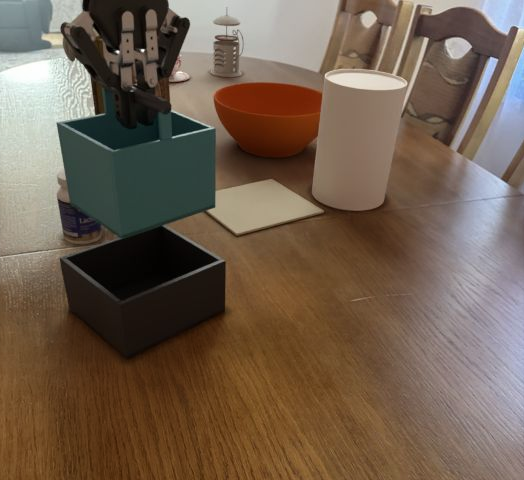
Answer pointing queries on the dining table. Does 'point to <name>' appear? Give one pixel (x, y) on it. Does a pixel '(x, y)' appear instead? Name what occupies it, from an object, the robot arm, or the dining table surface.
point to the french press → (226, 49)
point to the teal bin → (139, 166)
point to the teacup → (178, 72)
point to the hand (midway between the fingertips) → (136, 125)
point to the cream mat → (259, 206)
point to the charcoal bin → (144, 288)
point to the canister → (357, 137)
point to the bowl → (269, 116)
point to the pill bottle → (75, 218)
